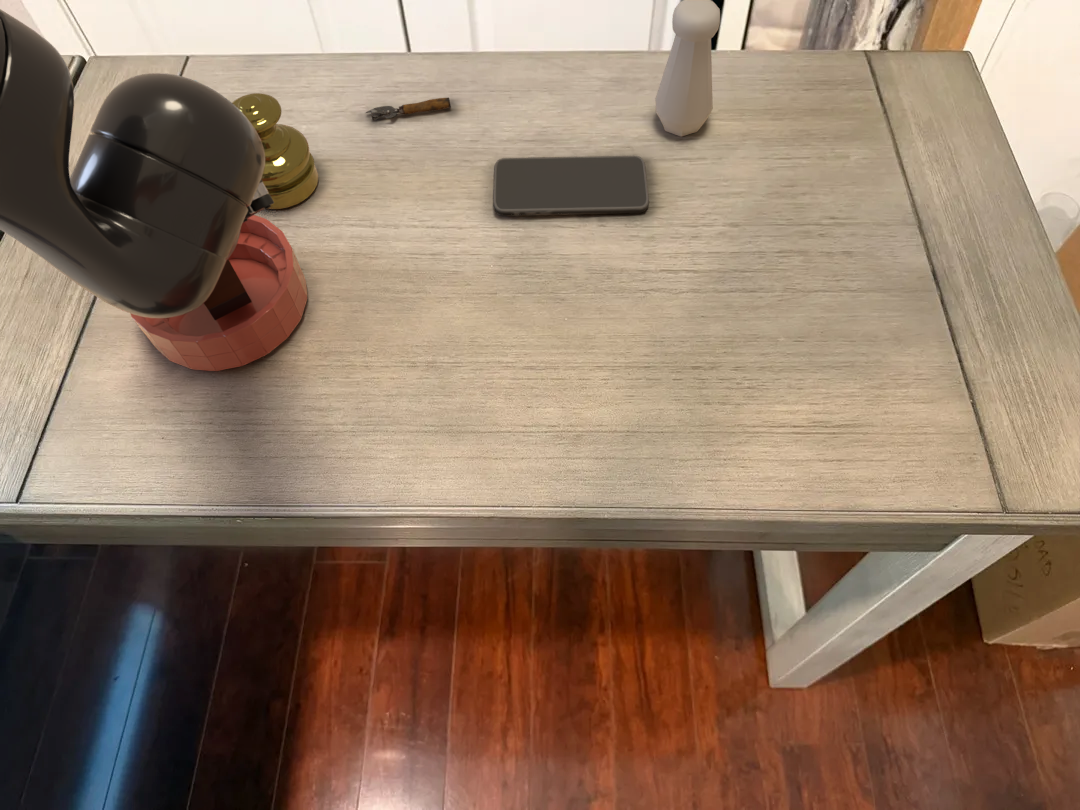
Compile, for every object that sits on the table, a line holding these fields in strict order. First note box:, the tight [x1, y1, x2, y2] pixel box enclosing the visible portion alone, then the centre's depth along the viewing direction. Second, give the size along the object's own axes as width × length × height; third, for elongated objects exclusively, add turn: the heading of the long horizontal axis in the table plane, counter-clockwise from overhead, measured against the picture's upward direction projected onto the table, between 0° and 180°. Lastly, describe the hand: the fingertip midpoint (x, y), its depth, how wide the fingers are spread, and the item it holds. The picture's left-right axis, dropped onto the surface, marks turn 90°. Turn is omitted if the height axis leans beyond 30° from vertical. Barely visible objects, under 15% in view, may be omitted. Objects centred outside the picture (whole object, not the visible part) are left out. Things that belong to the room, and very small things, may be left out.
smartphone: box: [492, 155, 650, 217], centre depth 79 cm, size 7×1×15 cm
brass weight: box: [231, 92, 319, 210], centre depth 77 cm, size 7×7×10 cm
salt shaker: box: [654, 0, 721, 137], centre depth 78 cm, size 6×6×13 cm
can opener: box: [365, 97, 452, 121], centre depth 85 cm, size 9×2×1 cm, turn 94°
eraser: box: [204, 260, 252, 320], centre depth 68 cm, size 5×4×10 cm
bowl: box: [129, 214, 308, 372], centre depth 72 cm, size 14×14×5 cm
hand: (186, 232), depth 68 cm, fingers closed on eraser, 3 cm apart
